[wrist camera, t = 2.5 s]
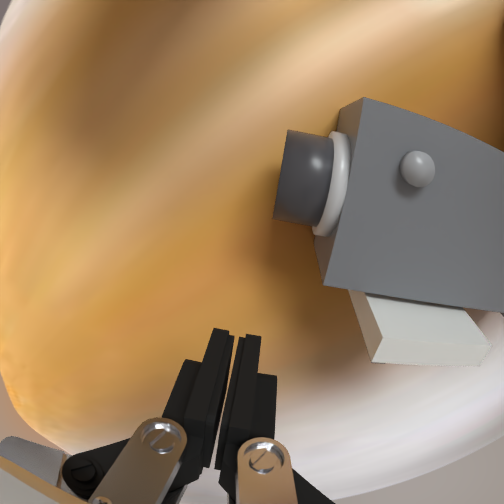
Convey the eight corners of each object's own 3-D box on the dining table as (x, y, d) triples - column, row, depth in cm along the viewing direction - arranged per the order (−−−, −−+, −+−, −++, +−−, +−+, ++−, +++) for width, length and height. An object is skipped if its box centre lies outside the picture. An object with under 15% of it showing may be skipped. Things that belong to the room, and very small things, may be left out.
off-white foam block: (436, 277, 19) (491, 345, 11) (426, 303, 20) (472, 377, 12) (350, 261, 19) (383, 337, 12) (341, 290, 20) (365, 374, 12)
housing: (533, 184, 16) (586, 204, 10) (494, 303, 20) (532, 345, 14) (292, 99, 17) (296, 79, 11) (264, 263, 21) (254, 316, 15)
